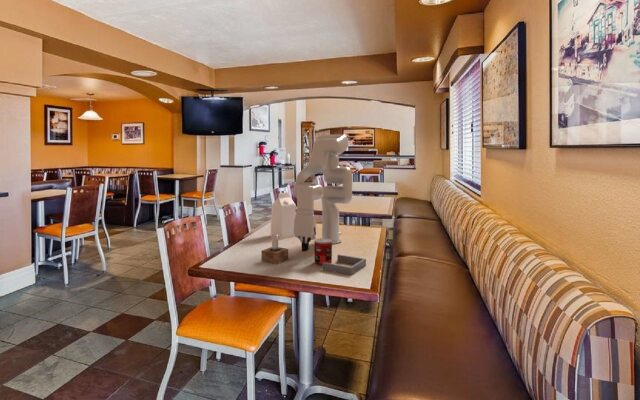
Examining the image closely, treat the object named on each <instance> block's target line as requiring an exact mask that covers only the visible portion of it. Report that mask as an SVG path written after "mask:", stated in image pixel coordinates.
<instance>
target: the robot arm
mask: <svg viewBox="0 0 640 400" xmlns="http://www.w3.org/2000/svg"><path fill="white" fill-rule="evenodd" d="M348 146H349V138H348V136H346V134H322V135H318V136H317V137H316V138H315V140H314V142H313V147H312V149H311V154H310V159H309V163H308V164H307V165H306V166H305V167H303V169H301V170H300V172H298V174H297V176H296V179H295V181H294V186H293V195H294V198H296V204H297V205H296V209H295V211H296V212H297V214H296V216H295V220H294V235H295V236H294V237H295V238H297V239H299V241H300V243H301V251H302V252H308V251H309V248H310V242H311V241H315V239H317V237H316V235H317V222H316V217H315V214H314V200H315V201H316V200H321V210H322V211H321V212H322V213H321V215H322V216H321V217H322V218H321V220H322V221H321V225H322V228H321V230H322V233H321V238H327V239H331V240H332V245H333V244H340V243H342V238H340V236H341V235H342V232H341V231H340V210H339V207H338V205H337V204H349V203H351V202H352V199H353V172H352V169H351V168H350V167H349V166H340V164H339V163H340V157H339V155H342V154H343V153H344V152H345V151H346V150H347V149H348ZM321 172H323V173H322V174H323V181H324V182H325V183H327V184H333V185H325V186H322V185H321V184H319V183H307V182H306V180H308V179H309V178H311V177H312V176H314V175H317V174H319V173H321ZM305 182H306V183H305ZM334 184H337V185H334ZM338 184H341V186H339V185H338Z"/></svg>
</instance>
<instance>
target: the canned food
mask: <svg viewBox="0 0 640 400" xmlns="http://www.w3.org/2000/svg"><path fill="white" fill-rule="evenodd" d="M313 244H314V245H313V246H314V254H313V256H314V257H313V258H314V259H313V260H314V265H316V266H320V267H322V263H323V262H325V263H331V264H333V263H332V261H333V258H332V256H333V244H332V240H331V239H327V238H322V237H319V238H316V239H314V240H313Z"/></svg>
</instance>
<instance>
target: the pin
mask: <svg viewBox="0 0 640 400" xmlns="http://www.w3.org/2000/svg"><path fill="white" fill-rule="evenodd" d="M271 247H272V251H275V252H276V251H278V247H279V238H278V235H276V234H274V235H272V236H271Z"/></svg>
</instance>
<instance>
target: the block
mask: <svg viewBox="0 0 640 400" xmlns="http://www.w3.org/2000/svg"><path fill="white" fill-rule="evenodd" d="M260 252H261V254H260V255H261V262H265V263H271V264H274V265H278V264H281V263H283V262H285V261H287V260H289V259H290V257H289V248H287V247H286V248H284V247H280V246H278V251H276V252H275V251H272V246H270V247H267V248H264V249H263V250H261V251H260Z"/></svg>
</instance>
